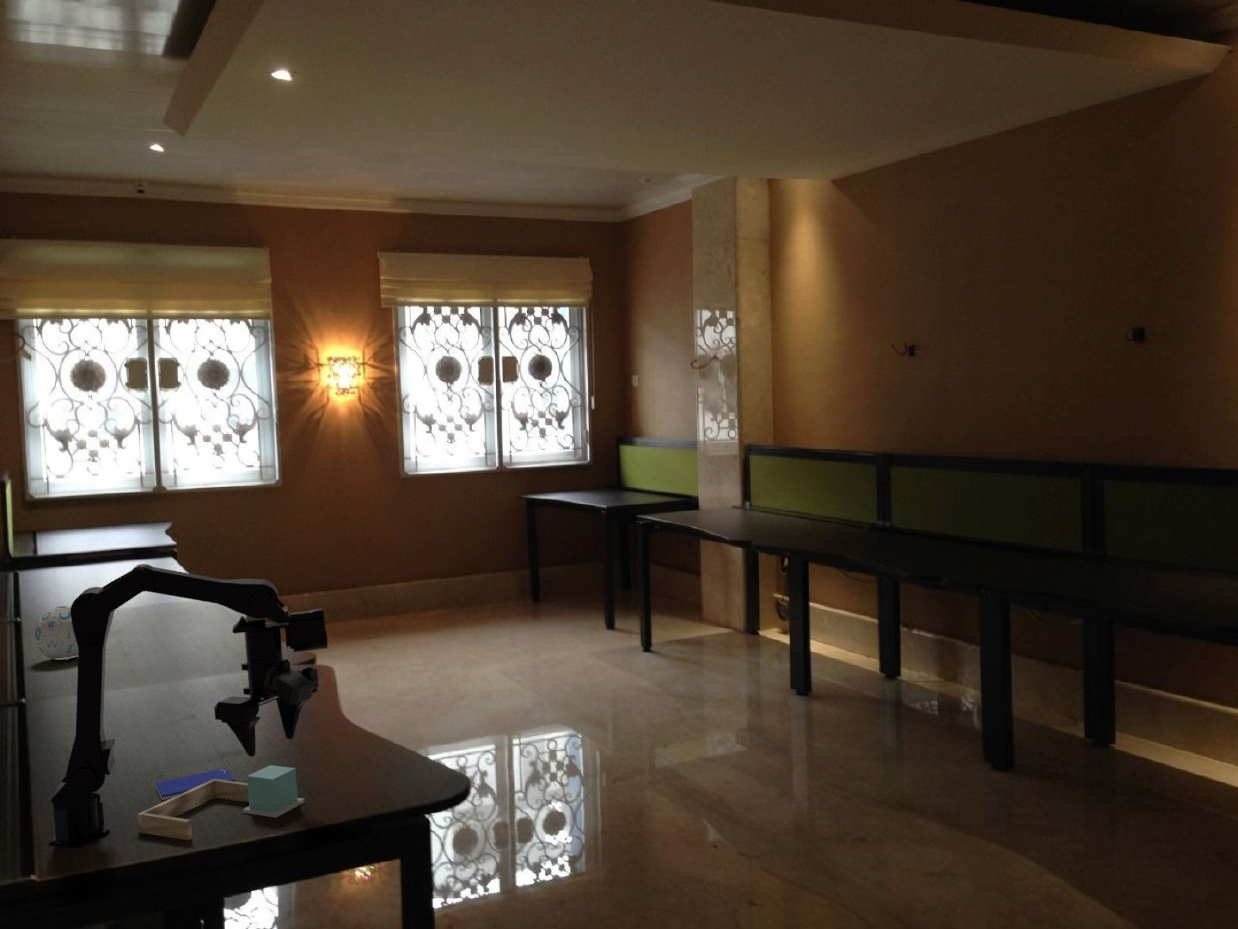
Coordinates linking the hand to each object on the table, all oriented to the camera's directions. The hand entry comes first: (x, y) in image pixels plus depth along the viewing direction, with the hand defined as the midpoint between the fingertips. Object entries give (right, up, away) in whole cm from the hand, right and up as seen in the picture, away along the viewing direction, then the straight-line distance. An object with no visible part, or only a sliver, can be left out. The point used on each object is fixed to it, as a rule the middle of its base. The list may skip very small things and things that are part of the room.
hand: (271, 747), depth 183 cm
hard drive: (-18, -11, +13) cm, 25 cm away
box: (-11, -11, -2) cm, 16 cm away
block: (0, -10, +1) cm, 10 cm away
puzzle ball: (-96, -7, +121) cm, 155 cm away
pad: (0, -10, +1) cm, 10 cm away
